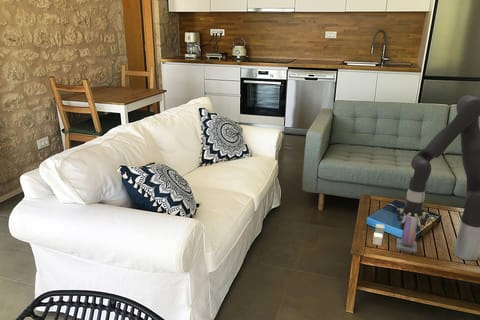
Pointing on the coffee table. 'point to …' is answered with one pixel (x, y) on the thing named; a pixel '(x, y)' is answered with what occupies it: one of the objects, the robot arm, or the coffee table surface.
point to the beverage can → (409, 230)
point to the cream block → (377, 239)
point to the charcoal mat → (406, 246)
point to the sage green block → (379, 228)
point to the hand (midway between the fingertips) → (409, 230)
